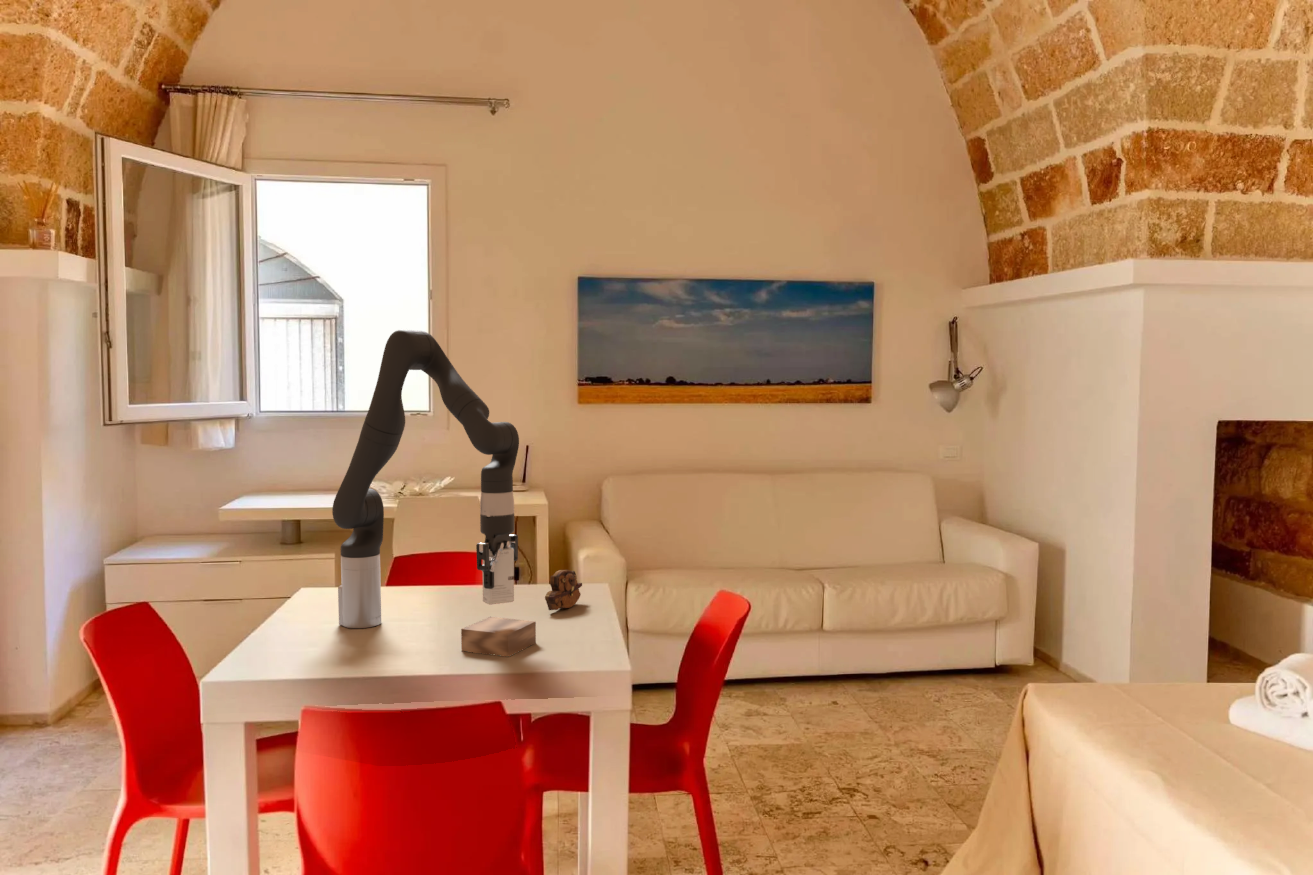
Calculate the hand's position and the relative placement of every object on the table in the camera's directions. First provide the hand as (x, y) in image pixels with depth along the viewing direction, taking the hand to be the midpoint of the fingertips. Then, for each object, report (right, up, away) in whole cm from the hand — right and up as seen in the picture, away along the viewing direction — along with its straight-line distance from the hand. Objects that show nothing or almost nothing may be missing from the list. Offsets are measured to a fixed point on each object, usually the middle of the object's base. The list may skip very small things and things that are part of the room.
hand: (498, 584), depth 224 cm
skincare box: (0, -4, 0) cm, 4 cm away
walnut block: (0, -14, +1) cm, 14 cm away
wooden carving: (+12, -12, +38) cm, 41 cm away
